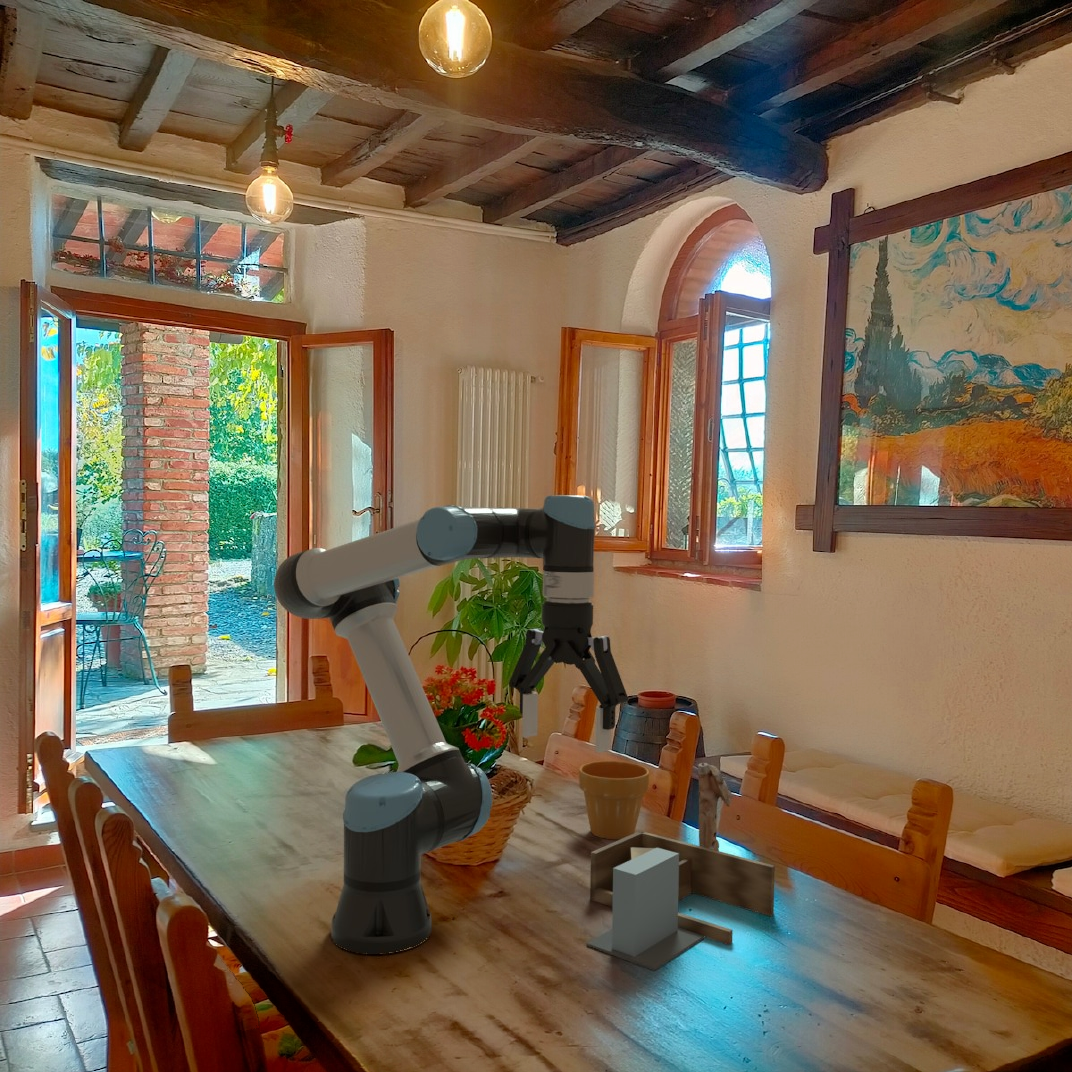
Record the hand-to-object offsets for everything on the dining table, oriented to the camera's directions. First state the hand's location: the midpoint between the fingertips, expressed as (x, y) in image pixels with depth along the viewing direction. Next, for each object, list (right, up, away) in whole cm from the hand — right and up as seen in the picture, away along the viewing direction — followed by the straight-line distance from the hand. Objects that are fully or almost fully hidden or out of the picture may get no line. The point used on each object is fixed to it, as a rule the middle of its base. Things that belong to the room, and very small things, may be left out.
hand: (565, 743), depth 143 cm
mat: (+12, -31, +4) cm, 33 cm away
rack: (+20, -31, +17) cm, 40 cm away
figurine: (+29, -31, +33) cm, 54 cm away
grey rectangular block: (+12, -30, +4) cm, 33 cm away
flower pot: (+11, -30, +54) cm, 63 cm away
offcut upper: (+14, -27, +22) cm, 38 cm away
